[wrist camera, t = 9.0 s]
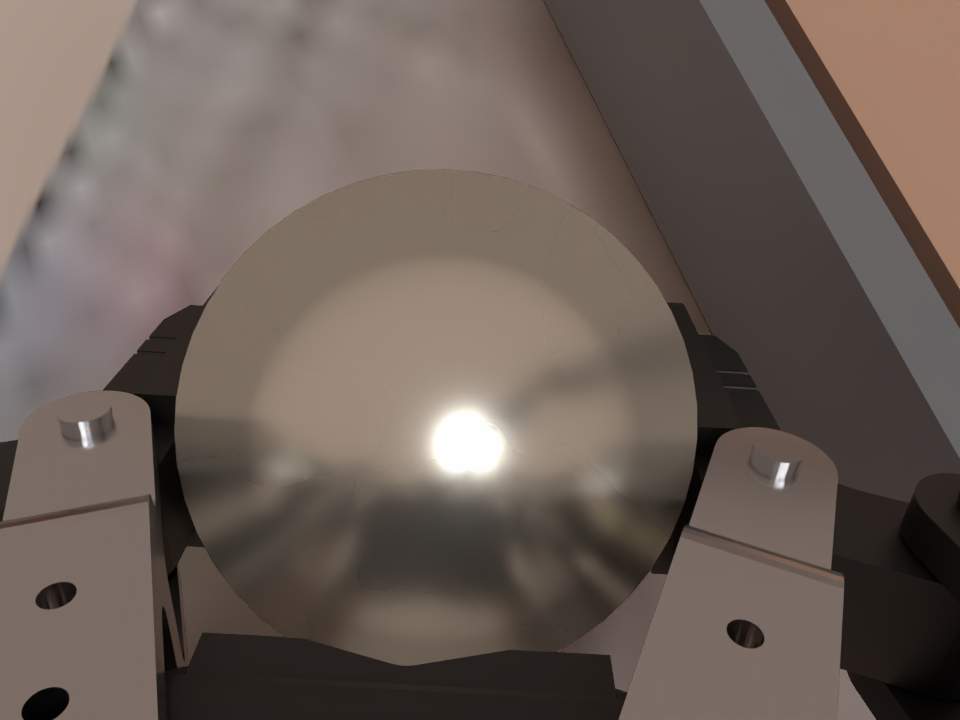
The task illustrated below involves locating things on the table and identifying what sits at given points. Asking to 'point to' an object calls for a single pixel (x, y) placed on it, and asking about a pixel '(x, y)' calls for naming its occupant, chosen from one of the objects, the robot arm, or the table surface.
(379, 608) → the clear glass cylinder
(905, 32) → the flat box
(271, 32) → the table surface
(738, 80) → the tote
